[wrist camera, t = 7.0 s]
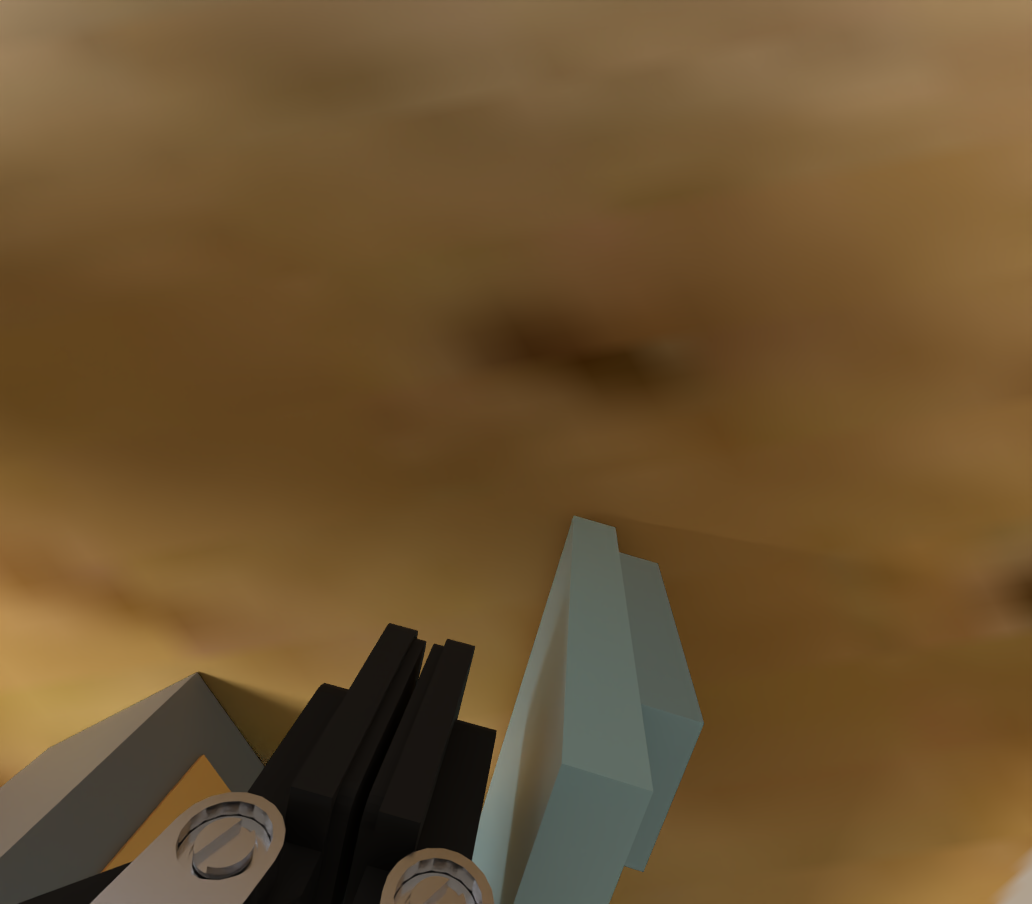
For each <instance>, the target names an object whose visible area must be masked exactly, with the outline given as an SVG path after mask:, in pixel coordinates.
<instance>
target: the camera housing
mask: <svg viewBox="0 0 1032 904" xmlns="http://www.w3.org/2000/svg"><path fill="white" fill-rule="evenodd" d="M263 768H264V765H263V764H262V763H261V761H260V760H259V758H258V757H257V756H256V754H255V753H254V751H253V750H252V749H251V747H250V746H249V744H248V743H247V741H246V740H245V739H244V737H243V736H242V734H241V733H240V732H239V730H238V729H237V727H236V726H235V725H234V723H233V722H232V720H231V719H230V718H229V716H228V715H227V713H226V712H225V711H224V709H223V708H222V706H221V705H220V704H219V702H218V701H217V699H216V698H215V697H214V695H213V694H212V692H211V691H210V690H209V688H208V687H207V685H206V684H205V683H204V681H203V680H202V678H201V677H200V675H199V674H198V673H197V672H196V673H194V674H192V675H190V676H188V677H187V678H185V679H183V680H181V681H179V682H177V683H175V684H173V685H171V686H169V687H167V688H165V689H163V690H161V691H159V692H157V693H155V694H153V695H151V696H149V697H148V698H146V699H144V700H142V701H140V702H138V703H136V704H134V705H132V706H130V707H128V708H126V709H124V710H122V711H120V712H118V713H116V714H114V715H112V716H110V717H108V718H107V719H105V720H103V721H101V722H99V723H97V724H95V725H93V726H91V727H89V728H87V729H85V730H83V731H81V732H79V733H77V734H75V735H73V736H71V737H69V738H68V739H66V740H64V741H62V742H60V743H58V744H56V745H54V746H52V747H50V748H48V749H47V750H46V751H44V752H43V753H42V754H41V755H39V756H38V757H37V758H36V759H35V760H33V761H32V762H31V763H30V764H29V765H27V766H26V767H25V768H24V769H22V770H21V771H20V772H19V773H18V774H16V775H15V776H14V777H13V778H12V779H10V780H9V781H8V782H7V783H5V784H4V785H3V786H2V787H1V788H0V904H18V903H20V902H23V901H26V900H29V899H31V898H34V897H37V896H39V895H42V894H45V893H48V892H50V891H53V890H56V889H58V888H61V887H64V886H67V885H69V884H72V883H75V882H77V881H80V880H83V879H86V878H88V877H91V876H94V875H96V874H99V873H102V872H105V871H107V870H110V869H113V868H115V867H118V866H121V865H124V864H126V863H129V862H132V861H134V860H135V859H136V858H137V857H138V856H139V855H140V854H141V853H142V852H143V851H144V850H145V849H146V848H147V847H148V846H149V845H150V844H151V843H152V842H153V841H154V840H155V839H156V838H157V837H158V836H159V835H160V834H161V833H162V832H163V831H164V830H165V829H166V828H167V827H168V826H169V825H170V824H171V823H172V822H173V821H174V820H175V819H176V818H177V817H178V816H179V815H181V814H182V813H183V812H184V811H186V810H187V809H188V808H190V807H191V806H192V805H193V804H195V803H197V802H200V801H202V800H204V799H206V798H208V797H210V796H214V795H219V794H223V793H228V792H248V790H249V789H250V788H251V786H252V785H253V783H254V782H255V780H256V779H257V777H258V776H259V774H260V773H261V771H262V770H263Z"/></svg>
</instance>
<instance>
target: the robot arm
mask: <svg viewBox="0 0 1032 904" xmlns="http://www.w3.org/2000/svg"><path fill="white" fill-rule="evenodd" d="M417 635H418V631H417V630H413V629H410V628H406V627H402V626H398V625H395V624H391V623H389V624H388V625H387V627H386V629H385V630H384V632H383V634H382V635H381V637H380V639H379V640H378V642H377V643H376V645H375V647H374V648H373V650H372V652H371V653H370V655H369V657H368V658H367V660H366V662H365V663H364V665H363V667H362V668H361V670H360V672H359V673H358V675H357V677H356V678H355V680H354V682H353V683H352V685H351V687H350V688H349V690H348V689H344V688H341V687H337V686H334V685H330V684H326V683H324V684H322V685H321V686H320V687H319V688H318V689H317V691H316V692H315V694H314V695H313V697H312V698H311V700H310V701H309V703H308V704H307V705H306V707H305V708H304V710H303V711H302V713H301V714H300V716H299V717H298V719H297V720H296V722H295V723H294V725H293V726H292V727H291V729H290V730H289V732H288V733H287V735H286V736H285V738H284V739H283V741H282V742H281V744H280V745H279V746H278V748H277V749H276V751H275V752H274V754H273V755H272V757H271V758H270V760H269V761H268V763H267V764H266V766H265V767H264V768H263V770H262V771H261V773H260V774H259V776H258V777H257V779H256V780H255V782H254V783H253V785H252V786H251V788H250V789H249V790H248V792H228V793H223V794H219V795H214V796H210V797H208V798H206V799H204V800H202V801H200V802H197V803H195V804H193V805H192V806H191V807H190V808H188V809H187V810H186V811H184V812H183V813H182V814H181V815H179V816H178V817H177V818H176V819H175V820H174V821H173V822H172V823H171V824H170V825H169V826H168V827H167V828H166V829H165V830H164V831H163V832H162V833H161V834H160V835H159V836H158V837H157V838H156V839H155V840H154V841H153V842H152V843H151V844H150V845H149V846H148V847H147V848H146V849H145V850H144V851H143V852H142V853H141V854H140V855H139V856H138V857H137V858H136V859H135V860H134V861H132V862H129V863H126V864H124V865H121V866H118V867H115V868H113V869H110V870H107V871H105V872H102V873H99V874H96V875H94V876H91V877H88V878H86V879H83V880H80V881H77V882H75V883H72V884H69V885H67V886H64V887H61V888H58V889H56V890H53V891H50V892H48V893H45V894H42V895H39V896H37V897H34V898H31V899H29V900H26V901H23V902H20V903H18V904H494V899H493V893H492V889H491V887H490V885H489V883H488V881H487V879H486V877H485V875H484V873H483V872H482V871H481V870H480V869H479V868H478V867H477V866H476V865H475V863H474V862H473V861H472V857H473V852H474V847H475V842H476V837H477V831H478V826H479V821H480V816H481V811H482V805H483V800H484V795H485V790H486V785H487V780H488V774H489V769H490V764H491V759H492V754H493V748H494V743H495V738H496V731H497V730H493V729H489V728H486V727H482V726H478V725H475V724H471V723H467V722H464V721H460V720H457V718H458V714H459V710H460V706H461V702H462V698H463V694H464V690H465V686H466V682H467V678H468V674H469V670H470V666H471V662H472V658H473V654H474V649H475V646H472V645H469V644H465V643H461V642H457V641H454V640H450V639H447V640H446V643H445V645H444V646H441V645H437V644H434V645H433V647H432V649H431V651H430V654H429V656H428V658H427V661H426V663H425V665H424V668H423V670H422V672H421V675H420V677H419V674H420V670H421V665H422V661H423V656H424V652H425V647H426V641H423V640H419V639H417Z"/></svg>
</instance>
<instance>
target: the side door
mask: <svg viewBox="0 0 1032 904" xmlns="http://www.w3.org/2000/svg"><path fill="white" fill-rule="evenodd" d="M703 725H704V721H703V718H702V714H701V711H700V707H699V704H698V700H697V697H696V693H695V690H694V686H693V683H692V680H691V676H690V673H689V669H688V666H687V662H686V659H685V655H684V652H683V648H682V645H681V642H680V638H679V635H678V631H677V628H676V624H675V621H674V617H673V614H672V610H671V607H670V604H669V600H668V597H667V593H666V590H665V586H664V583H663V579H662V576H661V572H660V569H659V566H658V563H655V562H651V561H648V560H644V559H641V558H638V557H634V556H631V555H627V554H624V553H620V552H619V549H618V542H617V535H616V528H615V527H612V526H609V525H605V524H602V523H598V522H595V521H591V520H588V519H585V518H581V517H578V516H573V519H572V522H571V526H570V529H569V532H568V535H567V539H566V542H565V545H564V548H563V551H562V555H561V558H560V561H559V564H558V568H557V571H556V574H555V577H554V580H553V584H552V587H551V590H550V593H549V597H548V600H547V603H546V606H545V609H544V613H543V616H542V619H541V622H540V626H539V629H538V632H537V635H536V638H535V642H534V645H533V648H532V651H531V655H530V658H529V661H528V664H527V667H526V671H525V674H524V677H523V680H522V684H521V687H520V690H519V693H518V696H517V700H516V703H515V706H514V709H513V713H512V716H511V719H510V722H509V725H508V729H507V732H506V735H505V738H504V742H503V745H502V748H501V751H500V754H499V758H498V761H497V764H496V767H495V771H494V774H493V777H492V780H491V783H490V787H489V790H488V793H487V796H486V800H485V803H484V806H483V809H482V812H481V816H480V821H479V826H478V831H477V837H476V842H475V847H474V852H473V857H472V861H473V862H474V863H475V865H476V866H477V867H478V868H479V869H480V870H481V871H482V872H483V873H484V875H485V877H486V879H487V881H488V883H489V885H490V887H491V889H492V893H493V899H494V904H609V902H610V900H611V897H612V895H613V892H614V890H615V887H616V885H617V882H618V880H619V877H620V875H621V872H622V870H623V867H624V866H626V867H629V868H632V869H635V870H638V871H642V872H644V869H645V867H646V864H647V862H648V859H649V857H650V854H651V852H652V850H653V847H654V845H655V842H656V840H657V837H658V835H659V832H660V830H661V828H662V825H663V823H664V820H665V818H666V815H667V813H668V810H669V808H670V805H671V803H672V801H673V798H674V796H675V793H676V791H677V788H678V786H679V783H680V781H681V779H682V776H683V774H684V771H685V769H686V766H687V764H688V761H689V759H690V756H691V754H692V752H693V749H694V747H695V744H696V742H697V739H698V737H699V734H700V732H701V730H702V727H703Z"/></svg>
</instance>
